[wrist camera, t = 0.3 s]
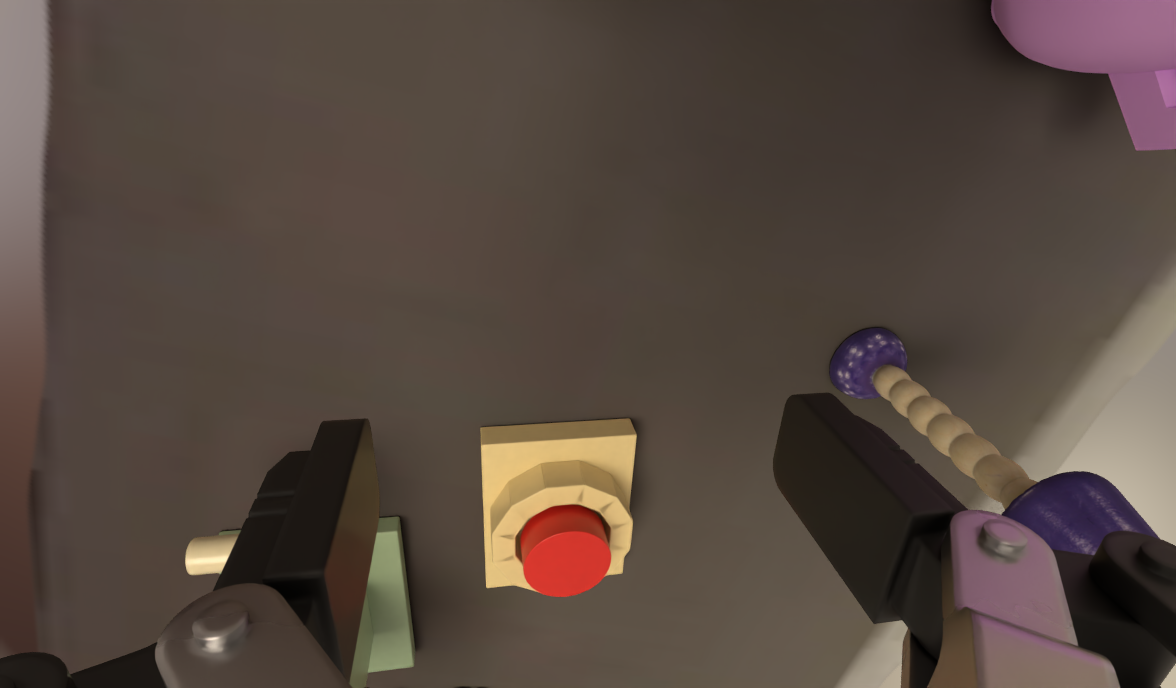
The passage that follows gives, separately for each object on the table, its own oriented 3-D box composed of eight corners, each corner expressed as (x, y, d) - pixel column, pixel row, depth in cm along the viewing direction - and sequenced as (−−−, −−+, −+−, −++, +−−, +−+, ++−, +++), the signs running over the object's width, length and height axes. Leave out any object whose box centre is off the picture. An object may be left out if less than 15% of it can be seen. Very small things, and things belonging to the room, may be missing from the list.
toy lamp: (821, 404, 35) (1077, 672, 20) (817, 336, 33) (1101, 580, 18) (898, 380, 35) (1207, 628, 20) (900, 310, 33) (1247, 532, 18)
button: (520, 507, 30) (523, 536, 28) (606, 500, 31) (614, 527, 29) (520, 571, 32) (523, 601, 30) (601, 563, 33) (608, 591, 31)
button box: (480, 426, 31) (482, 470, 28) (629, 417, 33) (647, 458, 30) (485, 566, 36) (487, 618, 33) (616, 553, 37) (630, 601, 34)
